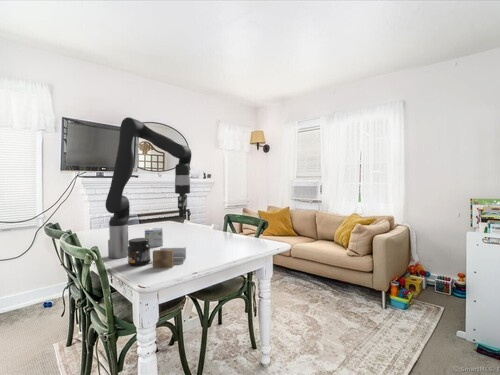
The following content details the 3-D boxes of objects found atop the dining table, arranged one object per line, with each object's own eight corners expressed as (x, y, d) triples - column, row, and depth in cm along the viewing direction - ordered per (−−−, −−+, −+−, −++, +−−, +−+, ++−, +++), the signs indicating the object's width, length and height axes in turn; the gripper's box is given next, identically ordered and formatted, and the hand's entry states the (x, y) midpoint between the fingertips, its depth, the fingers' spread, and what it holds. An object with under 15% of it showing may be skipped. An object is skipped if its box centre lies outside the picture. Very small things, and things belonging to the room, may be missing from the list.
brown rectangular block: (152, 268, 129) (152, 251, 129) (154, 266, 132) (154, 250, 131) (172, 267, 130) (171, 251, 129) (173, 266, 132) (173, 249, 132)
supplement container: (124, 263, 137) (124, 239, 136) (145, 259, 144) (144, 236, 144) (133, 268, 129) (132, 243, 129) (154, 263, 137) (153, 239, 136)
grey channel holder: (156, 264, 134) (155, 252, 134) (161, 259, 143) (160, 247, 143) (182, 263, 135) (182, 251, 135) (186, 258, 144) (185, 247, 144)
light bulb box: (162, 243, 178) (162, 227, 178) (163, 246, 172) (162, 229, 172) (145, 245, 175) (144, 228, 175) (144, 247, 169) (144, 230, 168)
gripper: (177, 184, 147) (177, 214, 148) (172, 184, 133) (172, 217, 134) (191, 183, 148) (192, 213, 149) (187, 184, 134) (188, 217, 134)
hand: (182, 215), depth 141 cm, fingers open, 8 cm apart
